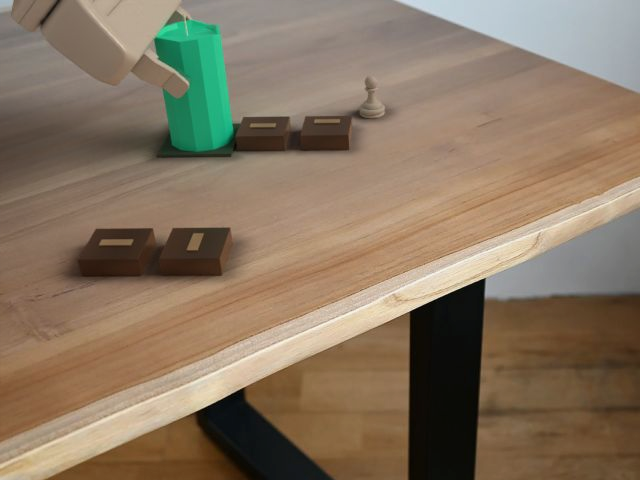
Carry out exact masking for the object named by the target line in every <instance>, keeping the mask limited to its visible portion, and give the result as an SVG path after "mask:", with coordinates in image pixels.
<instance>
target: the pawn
mask: <svg viewBox="0 0 640 480" xmlns="http://www.w3.org/2000/svg"><path fill="white" fill-rule="evenodd" d="M364 86H365V87H364V91H365V92H367V96H366V97H367V98H366V100H364V101H363V103H362V104H360V105H359V107H358V110H359V115H360V117H362V118H364V119H371V120H372V119H379V118H381V117H383V116H384V115H385V113H386V112H385V110H386V107H385V105H384V104H383V103H382V102H381V101H380V100H378V99H377V97H376V92H377V91H378V90H379V89H378V87H377V86H378V79H377V77H375V76H374V75H367V76H366V77H365V80H364Z"/></svg>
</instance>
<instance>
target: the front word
mask: <svg viewBox="0 0 640 480" xmlns="http://www.w3.org/2000/svg"><path fill="white" fill-rule="evenodd" d="M233 243H234V242H233V236H232V229H231V227H229V226H228V227H227V226H226V227H223V226H221V227H172V228H171V230H170V233H169V235H168V237H167V240H166V242H165V244H164V246H163V248H162V251H161V253H160V255H159V257H158V263H159V268H160V272H161V276H162V277H177V276H178V277H179V276H182V277H188V276H189V277H190V276H191V277H192V276H193V277H195V276H223V273H224V271H225V268H226V265H227V262H228V259H229V256H230V253H231V250H232V247H233ZM156 246H157V241H156V235H155V230H154V227H140V228H139V227H132V228H131V227H129V228H128V227H127V228H126V227H125V228H124V227H121V228H95V230H94V231H93V233H92V234H91V236H90V238H89V240H88V241H87V244H86V245H85V246H84V248H83V250H82V251H81V253H80V254H79V257H78V258H77V263H78V267H79V271H80V274H81V277H141V276H143V273H144V271H145V269H146V267H147V265H148V263H149V261H150V258H151V257H152V254H153V253H154V251H155V248H156Z"/></svg>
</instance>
